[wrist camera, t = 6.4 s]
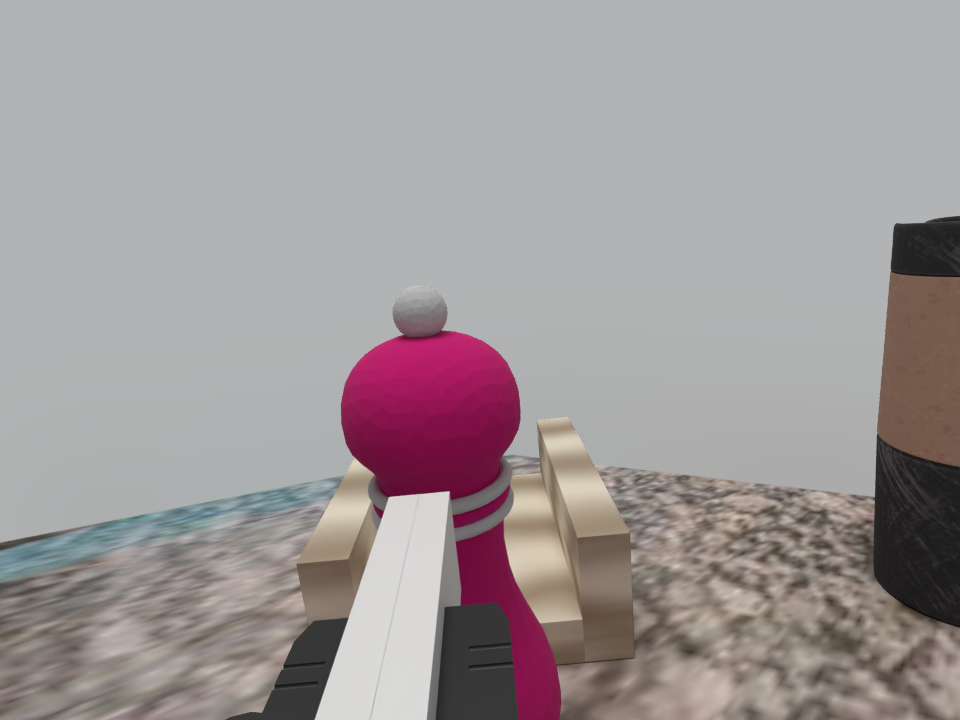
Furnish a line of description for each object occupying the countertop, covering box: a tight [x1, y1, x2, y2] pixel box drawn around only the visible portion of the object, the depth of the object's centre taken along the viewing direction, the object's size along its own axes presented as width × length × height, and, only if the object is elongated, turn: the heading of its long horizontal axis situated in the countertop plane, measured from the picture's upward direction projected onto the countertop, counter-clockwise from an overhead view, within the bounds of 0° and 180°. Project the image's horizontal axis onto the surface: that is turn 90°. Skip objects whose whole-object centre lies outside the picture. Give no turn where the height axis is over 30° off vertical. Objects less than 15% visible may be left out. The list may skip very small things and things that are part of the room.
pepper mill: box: [341, 286, 561, 720], centre depth 19 cm, size 7×7×20 cm
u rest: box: [297, 417, 635, 665], centre depth 34 cm, size 17×16×7 cm
